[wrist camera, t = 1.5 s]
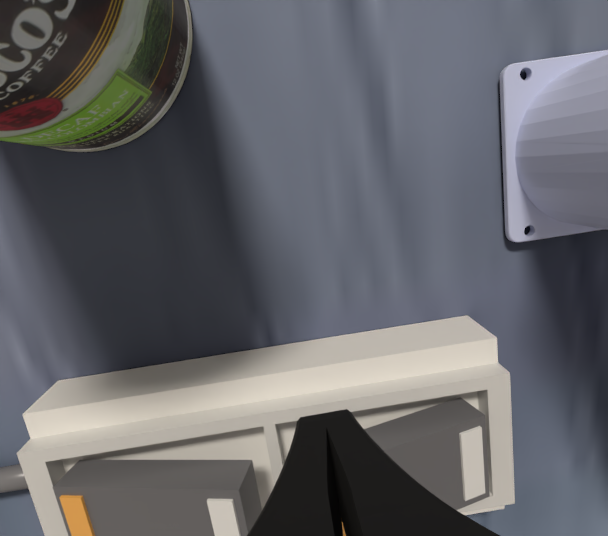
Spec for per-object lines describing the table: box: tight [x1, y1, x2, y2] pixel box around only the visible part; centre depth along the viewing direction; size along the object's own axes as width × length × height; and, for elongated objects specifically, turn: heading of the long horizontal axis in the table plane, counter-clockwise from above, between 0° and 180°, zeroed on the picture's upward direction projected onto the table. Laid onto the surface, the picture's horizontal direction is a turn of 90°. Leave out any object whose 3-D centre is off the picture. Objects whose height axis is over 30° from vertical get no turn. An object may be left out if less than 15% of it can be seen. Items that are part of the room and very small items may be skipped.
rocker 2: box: [342, 397, 490, 536], centre depth 18 cm, size 8×4×2 cm, turn 98°
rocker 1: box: [53, 460, 262, 536], centre depth 17 cm, size 8×4×2 cm, turn 98°
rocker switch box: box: [0, 315, 515, 536], centre depth 20 cm, size 27×9×4 cm, turn 98°
